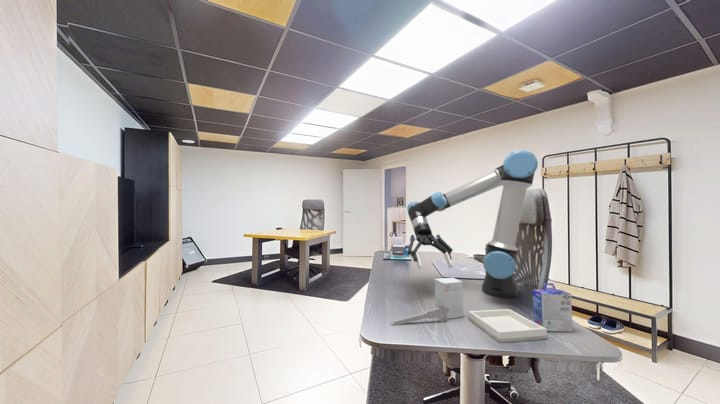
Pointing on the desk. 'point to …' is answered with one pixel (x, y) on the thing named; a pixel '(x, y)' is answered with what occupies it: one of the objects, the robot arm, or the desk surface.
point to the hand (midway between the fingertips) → (435, 267)
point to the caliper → (424, 316)
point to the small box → (449, 296)
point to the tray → (507, 325)
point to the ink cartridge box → (552, 309)
